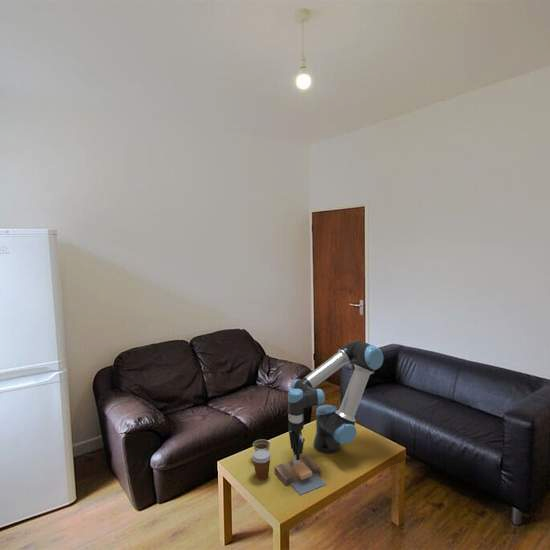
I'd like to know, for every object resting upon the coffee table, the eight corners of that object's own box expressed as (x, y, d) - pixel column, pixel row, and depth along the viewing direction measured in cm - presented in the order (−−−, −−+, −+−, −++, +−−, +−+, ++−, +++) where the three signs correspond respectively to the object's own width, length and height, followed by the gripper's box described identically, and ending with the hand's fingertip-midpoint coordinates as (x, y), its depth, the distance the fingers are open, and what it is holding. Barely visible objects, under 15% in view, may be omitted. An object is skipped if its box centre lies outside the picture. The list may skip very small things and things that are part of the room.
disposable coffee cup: (256, 484, 176) (255, 461, 175) (250, 473, 185) (249, 451, 184) (274, 479, 180) (273, 456, 179) (267, 468, 189) (266, 446, 187)
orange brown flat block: (302, 465, 185) (302, 462, 185) (312, 475, 177) (312, 472, 177) (292, 469, 182) (292, 465, 182) (301, 479, 174) (301, 475, 174)
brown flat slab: (307, 460, 195) (307, 454, 194) (320, 472, 184) (320, 467, 184) (274, 471, 186) (274, 466, 185) (285, 485, 175) (285, 479, 175)
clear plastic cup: (268, 465, 191) (268, 450, 190) (251, 463, 193) (250, 448, 192) (272, 455, 200) (271, 440, 199) (255, 453, 202) (255, 438, 201)
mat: (316, 474, 183) (316, 473, 183) (326, 484, 175) (326, 484, 175) (290, 484, 176) (290, 483, 176) (299, 495, 168) (299, 494, 168)
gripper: (283, 416, 186) (284, 459, 188) (295, 428, 175) (296, 474, 177) (296, 413, 189) (296, 455, 192) (309, 424, 178) (309, 469, 180)
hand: (296, 464), depth 184 cm, fingers closed
